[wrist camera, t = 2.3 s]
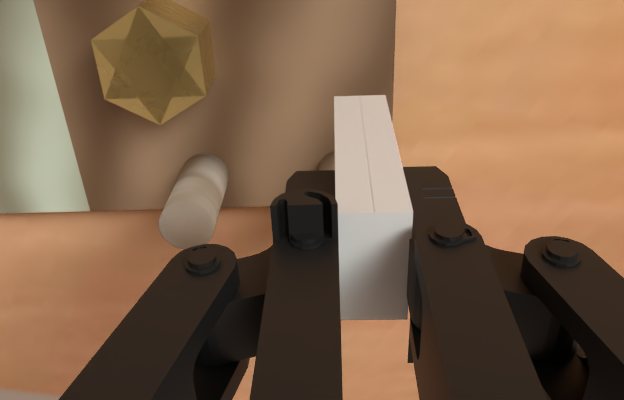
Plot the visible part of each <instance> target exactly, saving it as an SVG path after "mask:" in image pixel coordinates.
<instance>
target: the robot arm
mask: <svg viewBox="0 0 624 400" xmlns="http://www.w3.org/2000/svg"><path fill="white" fill-rule="evenodd" d="M334 132H335V170H318V171H296V172H295V173H294V174H293V175H292V176H291V177H290V178H289V179H288V180H287V183H286V190H285V193H282V194H280V195H279V196H278V197H276V198H275V199H274V200H273V201H272V203H271V205H270V209H271V220H272V232H273V246H271V247H270V248H268V249H267V250H265V251H263V252H261V253H259V254H256V255H253V256H249V257H245V258H240V259H237V258H236V256H235V253H234V252H233V251H232V250H230V249H229V248H227V247H225V246H221V245H217V244H202V245H197V246H193V247H190V248H188V249H185V250H183V251H181V252H179V253H178V254H177V255H176V256H175V257H174V258H172V259H171V261H170V262H169V263H168V264H167V266H166V267H165V268H164V269H163V271H162V272H161V273H160V274H159V276H158V277H157V278H156V279H155V280H154V282H153V283H152V284H151V285H150V287H149V288H148V289H147V290H146V292H145V293H144V294H143V295H142V297H141V298H140V299H139V300H138V302H137V303H136V304H135V305H134V307H133V308H132V309H131V310H130V312H129V313H128V314H127V315H126V317H125V318H124V319H123V320H122V322H121V323H120V324H119V325H118V326H117V328H116V329H115V330H114V331H113V333H112V334H111V335H110V336H109V338H108V339H107V340H106V341H105V343H104V344H103V345H102V346H101V348H100V349H99V350H98V351H97V353H96V354H95V355H94V356H93V358H92V359H91V360H90V361H89V363H88V364H87V365H86V366H85V368H84V369H83V370H82V371H81V372H80V374H79V375H78V376H77V377H76V379H75V380H74V381H73V382H72V384H71V385H70V386H69V387H68V389H67V390H66V391H65V392H64V394H63V395H62V396H61V397H60V399H59V400H232V399H233V397H234V395H235V393H236V391H237V389H238V386H239V384H240V382H241V380H242V378H243V376H244V374H245V372H246V370H247V368H248V364H249V359H250V358H251V357H255V356H256V361H255V367H254V374H253V381H252V388H251V394H250V400H343V398H342V359H341V320H397V319H407V315H408V306H409V312H410V332H409V348H408V363H413V362H414V368H415V375H416V381H417V387H418V393H419V399H420V400H624V278H623V277H622V276H621V275H620V274H618V273H617V272H616V271H615V270H614V269H613V268H612V267H611V266H609V265H608V264H607V263H606V262H605V261H604V260H603V259H602V258H601V257H599V256H598V255H597V254H596V253H595V252H594V251H593V250H591V249H590V248H588V247H587V246H585V245H584V244H582V243H579V242H577V241H574V240H571V239H569V238H564V237H556V236H550V237H540V238H537V239H533V240H531V241H530V242H529V243H528V244H527V245H525V250H524V254H520V253H515V252H509V251H504V250H499V249H495V248H492V247H490V246H487V245H485V244H484V241H483V239H482V236H481V235H480V234H479V232H478V231H477V230H476V229H474V228H473V227H471V226H469V225H468V224H466V223H465V220H464V217H463V215H462V212H461V210H460V207H459V204H458V202H457V199H456V198H455V194H454V191H453V189H452V186H451V183H450V180H449V178H448V176H447V175H446V174H445V173H444V172H442V171H441V170H440V169H439V168H437V167H436V166H430V167H403V166H402V162H401V158H400V154H399V150H398V146H397V141H396V137H395V133H394V129H393V125H392V120H391V116H390V112H389V108H388V104H387V99H386V95H364V96H334Z"/></svg>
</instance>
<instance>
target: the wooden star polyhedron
mask: <svg viewBox="0 0 624 400" xmlns="http://www.w3.org/2000/svg"><path fill="white" fill-rule="evenodd" d="M91 43H92V47H93V52H94V56H95V60H96V65H97V69H98V73H99V78H100V82H101V86H102V91H103V95H104V99H105V100H107V101H109V102H111V103H114V104H116V105H118V106H120V107H122V108H124V109H127V110H129V111H131V112H133V113H135V114H137V115H139V116H142V117H144V118H146V119H148V120H150V121H152V122H155V123H157V124H159V125H161V124H163V123H164V122H166V121H167V120H169V119H171V118H172V117H174V116H175V115H177V114H178V113H180V112H182V111H183V110H185V109H186V108H188V107H189V106H191V105H193V104H194V103H196V102H197V101H199V100H200V99H202V98H204V97H205V96H206V95H207V93H208V91H209V89H210V87H211V85H212V83H213V81H214V79H215V77H216V68H215V60H214V52H213V44H212V36H211V28H210V20H208V19H206V18H205V17H203V16H201V15H199V14H197V13H195V12H193V11H191V10H189V9H187V8H185V7H183V6H181V5H179V4H177V3H176V2H174V1H172V0H144V1H143V2H142V3H140V4H139V5H137V6H136V7H135V8H133V9H132V10H131V11H129V12H128V13H126V14H125V15H124V16H122V17H121V18H119V19H118V20H117V21H115V22H114V23H113V24H111V25H110V26H109V27H107V28H106V29H105V30H103V31H102V32H101V33H99V34H98V35H97V36H95V37H94V38H93V39H92V40H91Z"/></svg>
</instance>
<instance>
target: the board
mask: <svg viewBox="0 0 624 400" xmlns="http://www.w3.org/2000/svg"><path fill="white" fill-rule="evenodd" d="M143 1H144V0H0V214H1V213H39V212H77V211H115V210H153V209H163V212H162V214H161V216H160V219H159V230H160V233H161V235H162V236H163V238H164V239H165V240H166V241H167V242H168V243H170V244H171V245H173V246H175V247H177V248H180V249H188V248H190V247H193V246H197V245H202V244H207V243H208V242H209V241H210V239H211V237H212V235H213V231H214V228H215V225H216V221H217V218H218V214H219V211H220V208H229V207H266V206H270V205H271V203H272V201H273V200H274V199H275V198H276V197H278V196H279V195H280V194H282V193H285V190H286V183H287V180H288V179H289V178H290V177H291V176H292V175H293V174H294V173H295V172H296V171H318V170H335V132H334V96H364V95H386V99H387V104H388V108H389V112H390V116H391V120H392V113H393V82H394V51H395V19H396V0H172V1H174V2H176V3H177V4H179V5H181V6H183V7H185V8H187V9H189V10H191V11H193V12H195V13H197V14H199V15H201V16H203V17H205V18H206V19H208V20H210V28H211V36H212V44H213V52H214V60H215V68H216V77H215V79H214V81H213V83H212V85H211V87H210V89H209V91H208V93H207V95H206V96H205V97H204V98H202V99H200V100H199V101H197V102H196V103H194V104H193V105H191V106H189V107H188V108H186V109H185V110H183V111H182V112H180V113H178V114H177V115H175V116H174V117H172V118H171V119H169V120H167V121H166V122H164V123H163V124H161V125H159V124H157V123H155V122H152V121H150V120H148V119H146V118H144V117H142V116H139V115H137V114H135V113H133V112H131V111H129V110H127V109H124V108H122V107H120V106H118V105H116V104H114V103H111V102H109V101H107V100H105V99H104V95H103V91H102V86H101V82H100V78H99V73H98V69H97V65H96V60H95V56H94V52H93V47H92V43H91V40H92V39H93V38H94V37H95V36H97V35H98V34H99V33H101V32H102V31H103V30H105V29H106V28H107V27H109V26H110V25H111V24H113V23H114V22H115V21H117V20H118V19H119V18H121V17H122V16H124V15H125V14H126V13H128V12H129V11H131V10H132V9H133V8H135V7H136V6H137V5H139V4H140V3H142V2H143Z"/></svg>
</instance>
